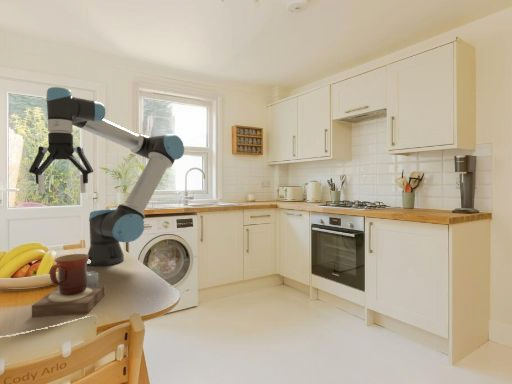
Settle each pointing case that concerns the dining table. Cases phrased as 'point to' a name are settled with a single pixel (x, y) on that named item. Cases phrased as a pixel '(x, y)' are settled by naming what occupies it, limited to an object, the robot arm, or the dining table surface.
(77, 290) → the mug
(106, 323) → the dining table surface
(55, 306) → the base slab
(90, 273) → the grey rounded block
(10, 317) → the dining table surface
